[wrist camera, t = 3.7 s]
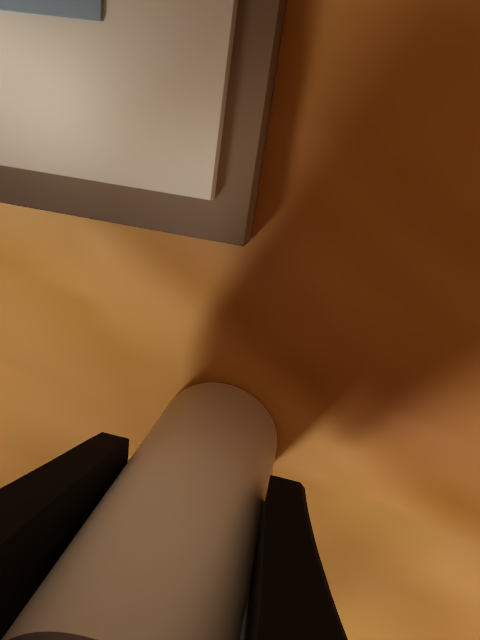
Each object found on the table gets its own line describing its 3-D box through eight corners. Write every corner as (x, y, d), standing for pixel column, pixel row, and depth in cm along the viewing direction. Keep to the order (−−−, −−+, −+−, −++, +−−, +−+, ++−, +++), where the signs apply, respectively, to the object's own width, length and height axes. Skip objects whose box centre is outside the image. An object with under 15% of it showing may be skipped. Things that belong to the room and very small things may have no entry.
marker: (266, 497, 11) (115, 1271, 3) (158, 468, 12) (-208, 1091, 4) (287, 397, 10) (139, 1164, 2) (168, 370, 11) (-311, 938, 3)
